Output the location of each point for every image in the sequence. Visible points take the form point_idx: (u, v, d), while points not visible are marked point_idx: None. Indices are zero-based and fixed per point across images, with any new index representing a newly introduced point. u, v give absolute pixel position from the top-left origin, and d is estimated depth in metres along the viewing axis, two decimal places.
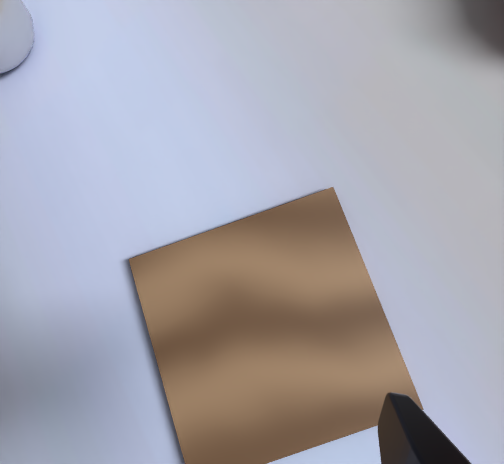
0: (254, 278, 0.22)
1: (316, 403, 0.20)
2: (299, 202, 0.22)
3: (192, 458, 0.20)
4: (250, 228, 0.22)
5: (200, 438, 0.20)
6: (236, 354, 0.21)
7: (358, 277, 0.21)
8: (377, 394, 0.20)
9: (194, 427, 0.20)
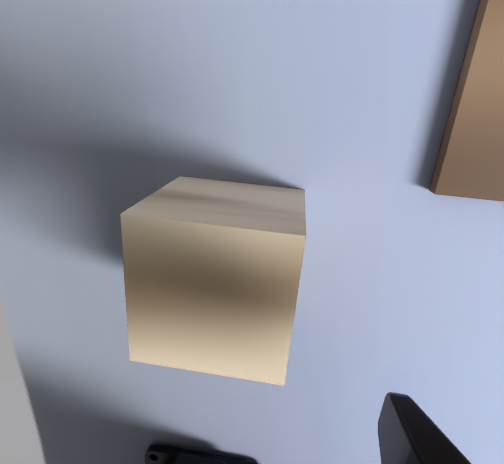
0: None
1: None
2: None
3: (462, 151, 0.12)
4: None
5: (495, 126, 0.11)
6: None
7: None
8: None
9: (497, 103, 0.11)
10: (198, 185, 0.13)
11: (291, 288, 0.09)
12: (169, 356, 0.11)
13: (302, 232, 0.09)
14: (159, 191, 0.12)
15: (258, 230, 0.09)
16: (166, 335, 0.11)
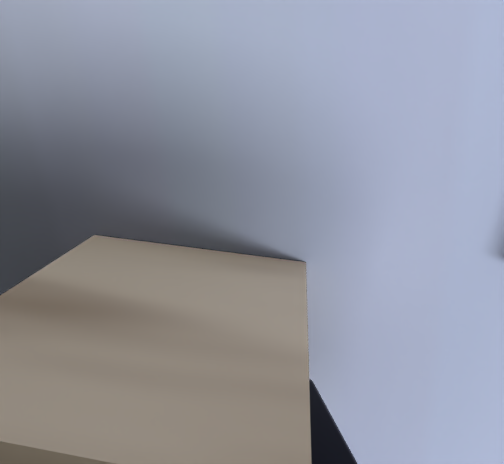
0: None
1: None
2: None
3: None
4: None
5: None
6: None
7: None
8: None
9: None
10: (112, 262, 0.07)
11: None
12: None
13: None
14: (19, 288, 0.06)
15: None
16: None
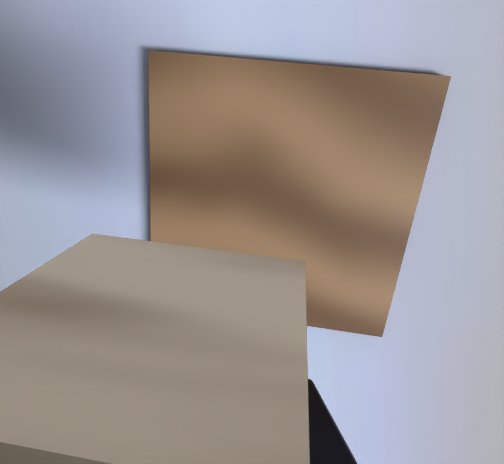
0: (290, 148, 0.17)
1: None
2: (395, 77, 0.16)
3: None
4: (315, 82, 0.16)
5: None
6: (234, 216, 0.19)
7: (403, 201, 0.18)
8: (349, 309, 0.20)
9: None
10: (110, 261, 0.07)
11: None
12: None
13: None
14: (16, 286, 0.06)
15: None
16: None
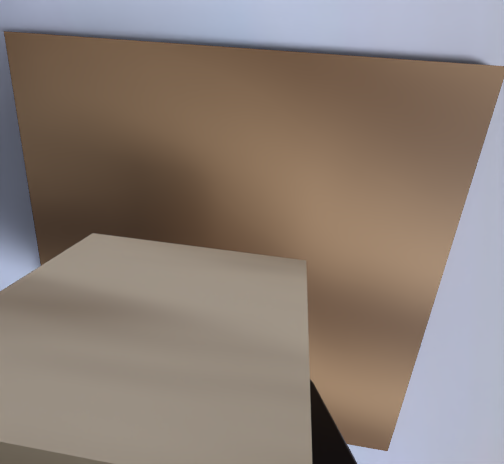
0: (240, 185, 0.11)
1: None
2: (409, 69, 0.09)
3: None
4: (274, 81, 0.10)
5: None
6: None
7: (421, 268, 0.11)
8: (340, 413, 0.14)
9: None
10: (111, 260, 0.07)
11: None
12: None
13: None
14: (16, 286, 0.06)
15: None
16: None
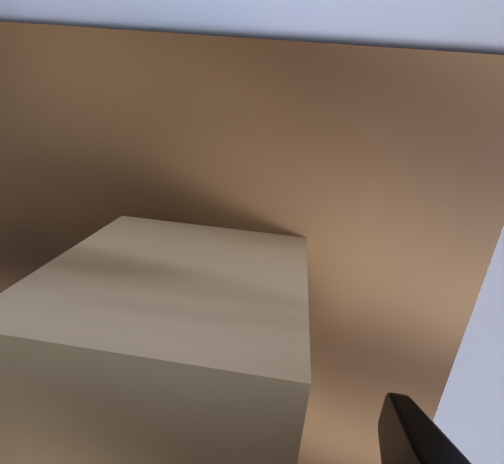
0: (226, 206, 0.09)
1: None
2: (436, 63, 0.07)
3: None
4: (266, 77, 0.08)
5: None
6: None
7: (446, 305, 0.09)
8: None
9: None
10: (141, 236, 0.08)
11: None
12: None
13: (304, 369, 0.05)
14: (68, 253, 0.07)
15: (216, 366, 0.04)
16: None
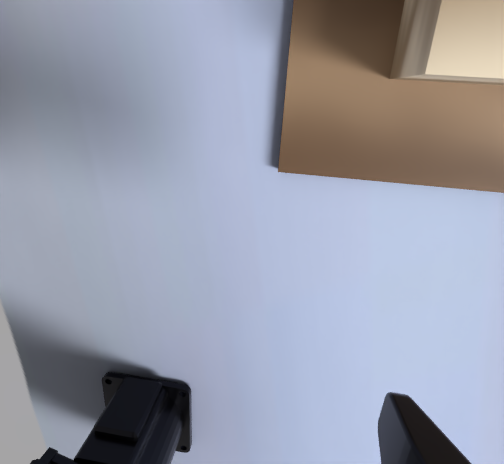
0: None
1: (466, 142, 0.16)
2: None
3: (291, 141, 0.17)
4: None
5: (309, 124, 0.16)
6: None
7: None
8: None
9: (307, 108, 0.16)
10: None
11: None
12: (475, 61, 0.10)
13: None
14: None
15: None
16: (480, 30, 0.10)
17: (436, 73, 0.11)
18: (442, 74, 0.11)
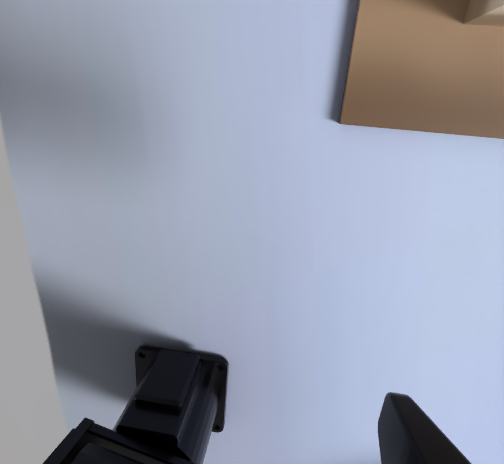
0: None
1: None
2: None
3: (356, 91, 0.16)
4: None
5: (376, 72, 0.16)
6: None
7: None
8: None
9: (376, 56, 0.16)
10: None
11: None
12: None
13: None
14: None
15: None
16: None
17: None
18: None
